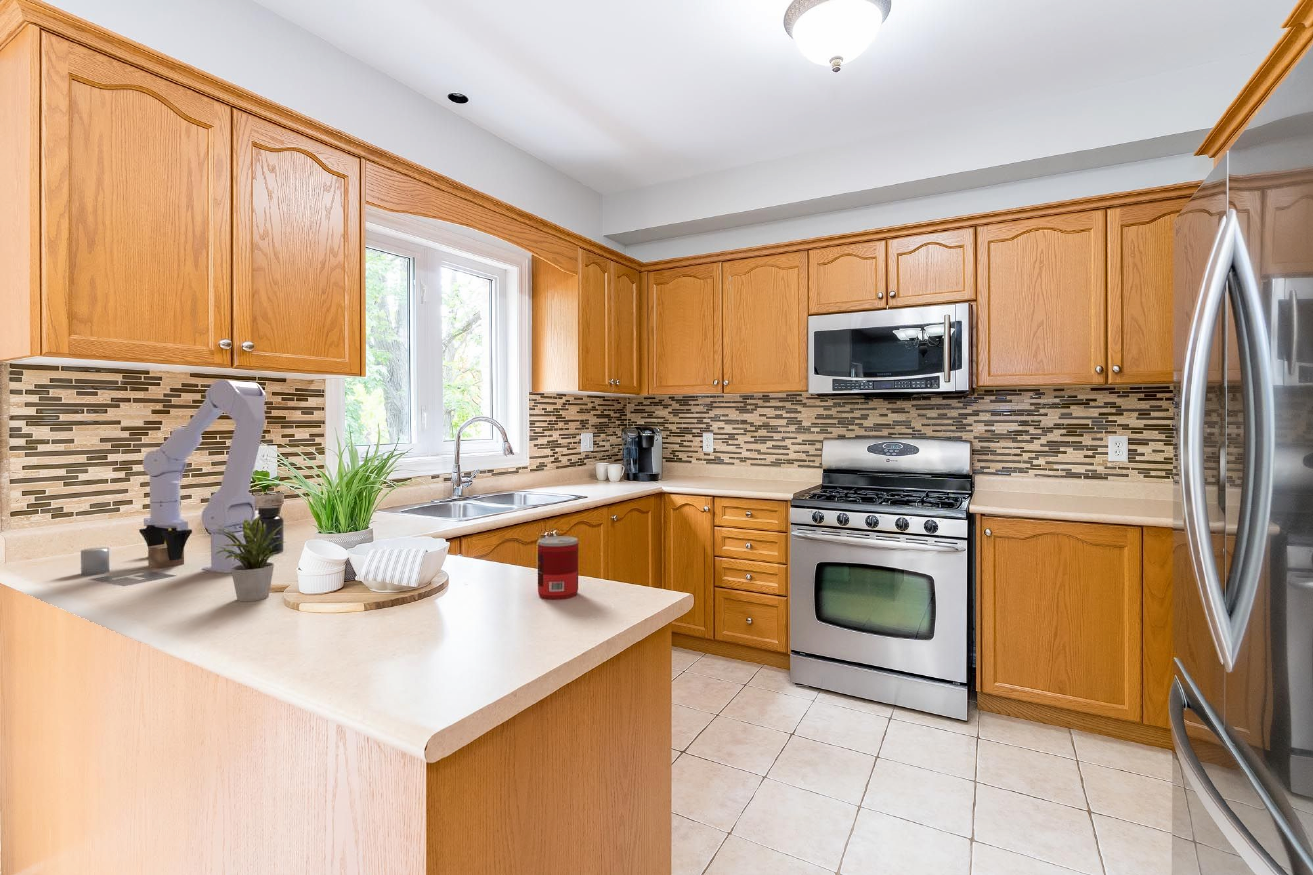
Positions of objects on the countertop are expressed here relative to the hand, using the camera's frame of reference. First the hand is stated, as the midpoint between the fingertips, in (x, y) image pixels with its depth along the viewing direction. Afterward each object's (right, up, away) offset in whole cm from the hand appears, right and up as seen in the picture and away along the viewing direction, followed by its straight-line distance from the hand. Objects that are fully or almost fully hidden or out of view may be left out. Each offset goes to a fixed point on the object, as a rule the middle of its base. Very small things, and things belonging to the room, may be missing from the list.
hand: (166, 558), depth 149 cm
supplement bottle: (+14, -2, +17) cm, 22 cm away
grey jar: (-10, -2, -8) cm, 13 cm away
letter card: (+2, -2, -12) cm, 12 cm away
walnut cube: (0, -2, 0) cm, 2 cm away
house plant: (+37, -3, -27) cm, 46 cm away
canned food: (+98, -3, -25) cm, 101 cm away
